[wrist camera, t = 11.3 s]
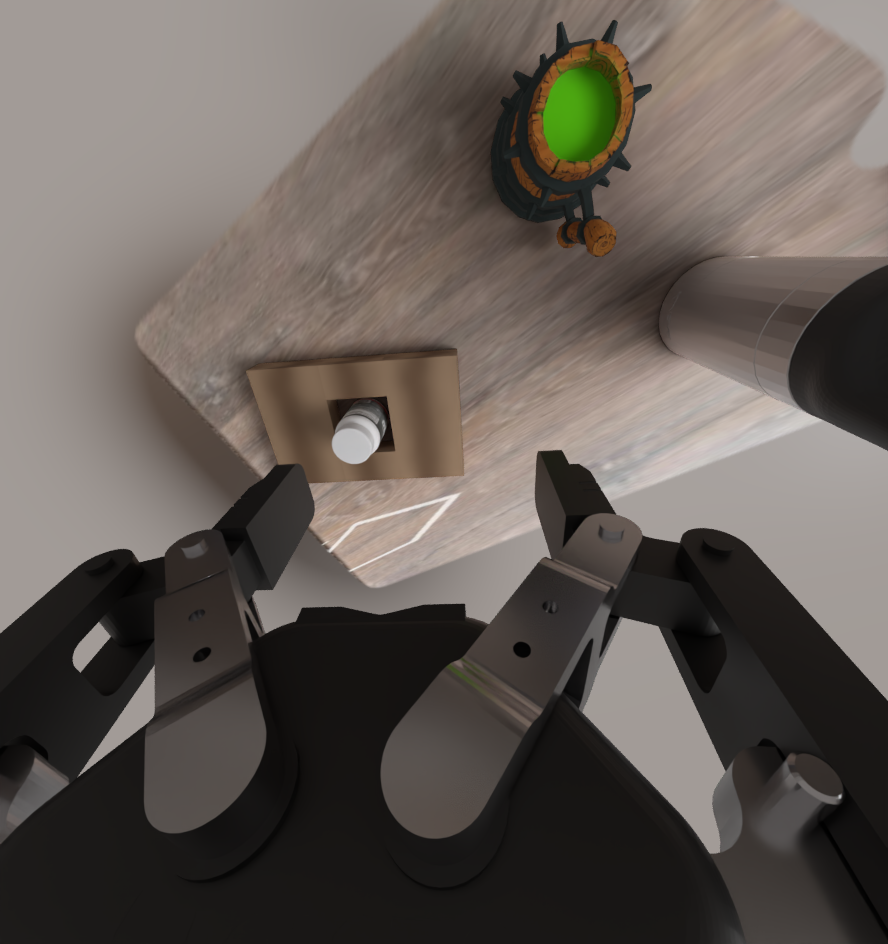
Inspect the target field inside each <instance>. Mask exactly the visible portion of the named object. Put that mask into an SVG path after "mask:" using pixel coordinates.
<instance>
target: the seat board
mask: <svg viewBox="0 0 888 944" xmlns="http://www.w3.org/2000/svg"><path fill="white" fill-rule="evenodd" d="M246 373H247V375H248V378H249V381H250V384H251V387H252V390H253V393H254V396H255V399H256V401H257V404H258V407H259V410H260V413H261V416H262V419H263V422H264V425H265V427H266V430H267V433H268V436H269V439H270V442H271V445H272V448H273V451H274V454H275V456H276V459H277V462H278V465H280V464H301V465H302V467H303V469H304V471H305V474H306V478H307V481H308V483H325V482H345V481H365V480H386V479H406V478H426V477H446V476H464V459H463V442H462V425H461V408H460V391H459V375H458V358H457V349H450V350H436V351H423V352H409V353H396V354H382V355H368V356H355V357H341V358H328V359H314V360H300V361H287V362H273V363H260V364H257V365H256V366H254V367H252V368H250V369H248V370H246ZM381 396H387V401H388V407H389V414H390V420H391V426H392V432H393V438H394V441H381V442H380V444H379V447H378V448H377V450H376V451H375V452H374V453H373V454H371V455H370V456H369V458H368V459H367V460H366V461H364V462H362V463H359V464H350V463H346V462H344V461H342V460H341V459H339V458H338V457H337V456H336V454H335V453H334V451H333V449H332V438H333V436H334V434H335V430H336V427H337V425H338V423H339V422H340V420H341V418H340V413H339V409H338V405H337V400H336V399H351V398H366V397H381Z"/></svg>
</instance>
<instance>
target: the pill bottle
mask: <svg viewBox="0 0 888 944" xmlns="http://www.w3.org/2000/svg"><path fill="white" fill-rule="evenodd" d="M388 422H389V416H388V412H387V410H386V408H385V407H384V406H383V405H382V404H381V403H380V402H378V401H377V400H375V399H371V398H362V399H359V400H357V401H356V402H354V403H353V404H352V406H351V407H350V409H349V410H348V411H347V413H346V414H345V415H344V417H343V418H342V419H341V420H340V422H339V423H338V425H337V427H336V430H335V434H334V436H333V438H332V449H333V451H334V453H335V454H336V456H337V457H338V458H339V459H341V460H342V461H344V462H346V463H350V464H359V463H362V462H364V461H366V460H367V459H368V458H369V456H370V455H371V454H373V453H374V452H375V451H376V450H377V448H378V447H379V444H380V442H381V440H382V437H383V435H384V433H385V430H386V428H387V426H388Z"/></svg>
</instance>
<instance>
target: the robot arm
mask: <svg viewBox="0 0 888 944" xmlns="http://www.w3.org/2000/svg"><path fill="white" fill-rule="evenodd" d="M659 330H660V335H661V338H662V340H663V342H664V343H665V345H666V346H667V347H668V348H669V349H670V350H671V351H673V352H674V353H676V354H678V355H680V356H682V357H684V358H687V359H689V360H691V361H693V362H695V363H697V364H699V365H701V366H704V367H706V368H708V369H710V370H713V371H715V372H717V373H719V374H721V375H724V376H726V377H728V378H730V379H732V380H735V381H737V382H739V383H741V384H744V385H746V386H748V387H750V388H752V389H755V390H757V391H759V392H761V393H763V394H766V395H768V396H770V397H772V398H775V399H777V400H780V401H782V402H784V403H786V404H788V405H791V406H793V407H795V408H797V409H799V410H802V411H804V412H806V413H808V414H811V415H813V416H815V417H818V418H820V419H822V420H824V421H827V422H829V423H831V424H833V425H835V426H837V427H839V428H841V429H843V430H845V431H847V432H850V433H852V434H854V435H856V436H858V437H860V438H862V439H865V440H867V441H869V442H871V443H873V444H875V445H878V446H879V447H881V448H883V449H885V450H887V451H888V257H757V256H726V257H716V258H712V259H709V260H705V261H703V262H701V263H699V264H697V265H695V266H694V267H692V268H691V269H690V270H688V271H687V272H686V273H684V274H683V275H682V276H681V277H680V278H679V279H678V280H677V281H676V282H675V284H674V285H673V286H672V288H671V289H670V291H669V292H668V294H667V296H666V298H665V300H664V302H663V304H662V308H661V311H660V316H659ZM535 503H536V509H537V513H538V516H539V519H540V522H541V526H542V529H543V532H544V536H545V539H546V542H547V545H548V549H549V552H550V555H551V559H549V558H547V557H544V558H542V559H541V560H540V562H538V563H537V565H536V566H535V567H534V569H533V570H532V571H531V572H530V574H529V575H528V576H527V577H526V579H525V580H524V581H523V582H522V584H521V585H520V586H519V587H518V589H517V590H516V591H515V592H514V594H513V595H512V596H511V597H510V599H509V600H508V601H507V602H506V604H505V605H504V606H503V608H502V609H501V610H500V611H499V613H498V614H497V615H496V616H495V618H494V619H493V620H492V621H491V623H490V624H487V623H485V622H482V621H479V620H476V619H473V618H469V617H466V611H465V604H437V605H436V604H434V605H421V606H417V607H412V608H409V609H404V610H400V611H396V612H392V613H387V614H383V615H378V614H372V613H367V612H363V611H358V610H354V609H349V608H344V607H315V608H314V607H313V608H302V609H301V612H300V614H299V616H298V618H297V620H296V622H292V623H289V624H286V625H284V626H281V627H279V628H276V629H274V630H272V631H270V632H268V633H266V634H265V631H264V628H263V624H262V621H261V618H260V615H259V612H258V609H257V606H256V603H255V601H254V599H253V597H252V595H253V594H254V592H255V590H273V588H274V587H275V585H276V583H277V581H278V580H279V578H280V576H281V574H282V573H283V571H284V569H285V567H286V565H287V564H288V561H289V560H290V558H291V556H292V555H293V553H294V551H295V549H296V548H297V546H298V544H299V542H300V540H301V539H302V537H303V535H304V533H305V531H306V530H307V528H308V526H309V524H310V523H311V521H312V519H313V516H314V510H315V507H314V500H313V497H312V494H311V491H310V487H309V484H308V481H307V478H306V474H305V471H304V469H303V467H302V465H301V464H280V465H276V466H275V467H274V468H273V469H272V470H271V471H270V472H269V473H268V475H267V476H266V477H265V478H264V479H262V480H261V481H259V482H257V483H256V484H254V485H253V486H252V487H250V488H249V489H248V490H247V491H246V492H245V493H244V494H243V495H242V496H241V499H239V500H238V501H237V502H236V503H235V504H234V507H231V508H230V509H229V511H228V512H227V513H226V514H225V515H224V516H223V517H222V518H221V519H220V521H219V522H218V523H217V524H216V525H215V526H214V527H213V528H212V529H209V530H202V531H197V532H194V533H192V534H189V535H187V536H185V537H183V538H181V539H179V540H178V541H176V542H175V543H174V544H173V545H172V546H170V547H169V549H168V550H167V551H166V553H165V556H164V557H160V558H156V559H152V560H148V561H143V562H139V561H138V560H137V558H136V557H135V555H134V554H133V552H132V551H130V550H128V549H118V550H113V551H109V552H106V553H103V554H100V555H98V556H95V557H93V558H91V559H89V560H87V561H86V562H84V563H83V564H81V565H80V566H78V567H77V568H76V569H74V570H73V571H72V572H71V573H70V574H69V575H67V576H66V577H65V578H64V579H63V580H62V581H60V582H59V583H58V584H57V585H56V586H55V587H54V588H52V589H51V590H50V591H49V592H48V593H47V594H45V596H43V597H42V598H41V599H40V600H39V601H37V602H36V603H35V604H34V605H33V606H32V607H30V608H29V609H28V610H27V611H26V612H25V613H24V614H22V615H21V616H20V617H19V618H18V619H17V620H15V621H14V622H13V623H12V624H11V625H10V626H8V627H7V628H6V629H5V630H4V631H3V632H2V633H0V944H888V701H887V700H886V698H885V697H884V696H883V695H882V694H881V693H880V692H879V691H878V690H877V688H876V687H875V686H874V685H873V684H872V683H871V682H870V681H869V679H868V678H867V677H866V676H865V675H864V674H863V673H862V672H861V671H860V669H859V668H858V667H857V666H856V665H855V664H854V663H853V662H852V661H851V659H850V658H849V657H848V656H847V655H846V654H845V653H844V652H843V651H842V649H841V648H840V647H839V646H838V645H837V644H836V643H835V642H834V641H833V640H832V638H831V637H830V636H829V635H828V634H827V633H826V632H825V631H824V629H823V628H822V627H821V626H820V625H819V624H818V623H817V622H816V621H815V619H814V618H813V617H812V616H811V615H810V614H809V613H808V612H807V610H806V609H805V608H804V607H803V606H802V605H801V604H800V603H799V602H798V601H797V599H796V598H795V597H794V596H793V595H792V594H791V593H790V592H789V591H788V589H787V588H786V587H785V586H784V585H783V584H782V583H781V582H780V580H779V579H778V578H777V577H776V576H775V575H774V574H773V573H772V572H771V570H770V569H769V568H768V567H767V566H766V565H765V564H764V563H763V562H762V560H761V559H760V558H759V557H758V556H757V555H756V554H755V553H754V552H753V550H752V549H751V548H750V547H749V546H748V545H747V544H745V543H744V542H743V541H741V540H740V539H738V538H736V537H734V536H732V535H730V534H727V533H725V532H722V531H718V530H714V529H707V528H698V529H691V530H688V531H687V532H685V533H684V534H683V535H682V538H681V541H680V543H677V542H670V541H665V540H659V539H653V538H649V537H645V536H643V535H642V531H641V530H640V528H639V527H638V526H637V525H636V524H635V523H634V522H632V521H631V520H629V519H627V518H625V517H622V516H619V515H616V513H615V512H614V510H613V508H612V506H611V505H610V503H609V501H608V500H607V498H606V497H605V495H604V493H603V492H602V491H601V488H600V487H599V485H598V483H596V480H595V478H594V477H593V475H592V474H591V472H590V471H589V470H587V469H586V468H584V467H583V466H581V465H580V464H569V463H568V461H567V459H566V457H565V455H564V453H563V452H562V450H553V451H538V453H537V461H536V481H535ZM622 618H627V619H632V620H636V621H640V622H644V623H648V624H652V625H656V626H659V628H660V631H661V633H662V635H663V637H664V639H665V641H666V644H667V646H668V648H669V650H670V652H671V654H672V656H673V659H674V661H675V663H676V665H677V667H678V670H679V672H680V674H681V676H682V678H683V680H684V682H685V685H686V687H687V689H688V691H689V693H690V695H691V697H692V700H693V702H694V704H695V706H696V708H697V711H698V713H699V715H700V717H701V719H702V721H703V723H704V726H705V728H706V730H707V732H708V734H709V736H710V739H711V741H712V743H713V745H714V747H715V749H716V752H717V754H718V756H719V758H720V760H721V762H722V764H723V767H724V769H725V771H726V772H725V774H724V775H723V777H722V778H721V780H720V782H719V783H718V785H717V786H716V788H715V790H714V794H713V802H712V805H713V812H714V816H715V819H716V823H717V827H718V830H719V834H720V853H716V854H709V852H708V851H707V849H706V848H705V846H704V844H703V843H702V842H701V840H700V839H699V837H698V836H697V834H696V833H695V832H694V830H693V829H692V828H691V826H690V825H689V824H688V823H687V821H686V820H685V819H684V818H683V817H682V815H680V813H679V812H678V811H677V810H676V809H675V808H674V807H673V806H672V805H671V804H670V803H669V802H668V801H667V800H666V799H665V798H664V797H663V796H662V795H661V794H660V792H659V791H658V790H656V788H655V787H654V786H653V785H652V784H651V783H650V782H649V781H648V780H647V779H646V778H645V777H644V776H643V775H642V774H641V773H640V772H639V771H638V770H637V769H636V768H635V767H634V766H633V765H632V764H631V763H630V761H628V759H627V758H626V757H625V756H624V755H623V754H622V753H621V752H620V751H619V750H618V749H617V748H616V747H615V746H614V745H613V744H612V743H611V742H610V741H609V740H608V739H607V738H606V737H605V736H604V735H603V734H602V732H601V731H599V729H598V728H597V727H596V726H595V725H594V724H593V723H592V722H591V721H590V720H589V719H588V718H587V717H586V716H585V715H584V714H583V713H582V711H583V709H584V707H585V705H586V702H587V700H588V697H589V695H590V692H591V690H592V686H593V683H594V680H595V677H596V675H597V672H598V670H599V667H600V665H601V663H602V661H603V659H604V657H605V655H606V652H607V650H608V648H609V646H610V644H611V642H612V640H613V637H614V635H615V633H616V631H617V629H618V627H619V625H620V622H621V620H622ZM98 622H100V624H101V625H102V626H103V627H104V629H105V630H106V631H107V632H108V633H109V635H110V636H111V637H110V639H109V640H108V641H107V642H106V643H105V644H104V646H103V647H102V648H101V649H100V651H99V652H98V653H97V654H96V655H95V656H94V657H93V659H92V660H91V661H90V662H89V663H88V664H87V666H86V667H85V668H84V669H83V670H82V672H81V673H80V672H79V671H78V670H77V669H76V668H75V667H74V665H73V661H72V660H73V659H72V657H73V653H74V650H75V648H76V647H77V645H78V644H79V642H80V641H81V640H82V639H83V638H84V637H85V636H86V635H87V634H88V633H89V632H90V631H91V630H92V628H93V627H94V626H95V625H96V624H97V623H98ZM154 665H155V713H154V717H153V718H152V719H151V720H150V721H149V722H148V723H147V724H146V725H145V726H143V727H142V728H141V729H139V730H138V731H137V732H136V733H134V734H133V735H132V736H130V737H129V738H128V739H127V740H125V741H124V742H123V743H121V744H120V745H119V746H118V747H116V748H115V749H114V750H112V751H111V752H110V753H108V754H107V755H106V756H105V757H103V758H102V759H101V760H100V761H98V762H97V763H96V764H94V765H93V766H92V767H90V768H89V769H88V770H87V771H85V772H84V773H83V774H81V775H80V776H79V777H78V775H79V774H80V772H81V771H82V769H83V768H84V767H85V765H86V764H87V762H88V760H89V759H90V758H91V756H92V755H93V753H94V752H95V751H96V749H97V748H98V746H99V745H100V743H101V742H102V740H103V739H104V737H105V736H106V735H107V733H108V732H109V730H110V729H111V727H112V726H113V724H114V723H115V721H116V720H117V719H118V717H119V715H120V714H121V713H122V711H123V710H124V708H125V707H126V705H127V704H128V702H129V701H130V699H131V698H132V697H133V695H134V694H135V692H136V691H137V689H138V688H139V687H140V685H141V684H142V682H143V681H144V679H145V678H146V676H147V675H148V673H149V672H150V670H151V669H152V668H153V666H154Z"/></svg>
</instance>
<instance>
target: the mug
mask: <svg viewBox="0 0 888 944" xmlns="http://www.w3.org/2000/svg"><path fill="white" fill-rule="evenodd" d="M617 24H618V22H617V21H616V20H613V21H612V23H611V24H610V26H609V28H608V29H607V31H606V33H605V34H604V36H603V38H602V39H601V41H600V40H595V39H589V40H584V41H579V42H574V43H569V41H568V38H567V35H566V32H565V28H564V25H563V22H560V23H558V24H557V41H556V52H555V53H554V54H553V55H552V56H551V57H549V58H548V59H547V58H546V55H545V53H544V54H542V55H540V66H539V67H538V69H537V70H536V71H535V73H534V75H533V77H532V78H531V77H529V76H527V75H525V74H523V73H521V72H518V71H515V73H514V75H513V78H514V79H515V80H516V82H517V83H518V85H519V86H520V88H521V89H519V90H518V91H517V92H516V93H514V95H513V96H512V98H511V100H510V99H508V98H505V97H502V99H501V104H502V105H503V106H504V108H505V110H504V112H503V113H502V115H501V117H500V118H499V120H498V123H497V128H496V132H495V136H494V141H493V145H492V149H491V162H492V176H493V181H494V184H495V186H496V188H497V191H498V193H499V195H500V197H501V200H502V202H503V203H504V204H505V205H506V206H507V207H508V208H509V209H510V210H511V211H513V212H514V213H515V214H516V215H517V216H518V217H520V218H524V219H526V220H531V221H534V222H537V223H539V222H544V221H549V220H555V219H559V218H562V217H563V216H565V218H566V222H565V223H564V224H563V225H561V226H560V227H559V230H558V232H557V235H556V236H557V240H558V244H559V245H561V246H562V247H563V248H571V247H573V246H574V245H575V244H576V243H581V244H583V245H586V247H587V250H588V252H589V253H591V254H592V255H593V256H595V257H601V256H604V255H606V254H607V253H609V252H610V251H611V250H612V248H613V247H614V245H615V243H616V231H615V229H614V228H613V226H612V225H610V224H609V223H608V222H606V221H604V220H602V218H601V217H600V216H594V209H593V201H592V193H591V191H592V190H593V188H594V187H595V185H596V184H599V185H602V186H605V187H608V186H609V184H610V182H609V180H608V179H607V178H606V176H605V175H606V174H607V173H608V172H609V170H610V169H611V167H612V166H614V167H617V168H620V169H623V170H626V171H628V170H629V169H630V168H631V165H630V164H629V162H628V161H627V160H626V158H625V157H624V156H623V154H622V153H621V152H622V151H623V149H624V148H625V146H626V144H627V141H628V137H629V133H630V129H631V126H632V122H633V118H634V114H635V103H636V102H637V101H638V100H639V99H641V98H642V97H643V96H645V95H646V94H647V93H649V92H650V91H651V89H652V85H651V84H648V85H643V86H638V87H634V88H633V77H632V75H631V73H630V72H629V70H628V64H629V62H628V61H627V60H626V58H625V57H624V55H623V54H622V52H621V51H620V49H619V48H618V46H617V45H614V44H612V43H613V39H614V35H615V31H616V27H617ZM580 205H581V207H582V213H583V221H582V219H581V218H575V215H574V211H573V210H574V209H575V208H577V207H578V206H580Z"/></svg>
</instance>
